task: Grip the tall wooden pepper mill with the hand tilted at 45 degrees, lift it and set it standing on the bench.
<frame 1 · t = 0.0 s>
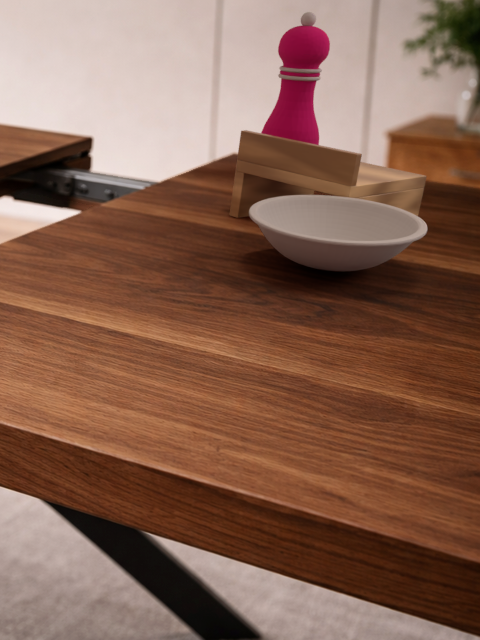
pepper mill: (283, 177, 123), on the table
dish: (326, 274, 84), on the table
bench: (319, 224, 99), on the table
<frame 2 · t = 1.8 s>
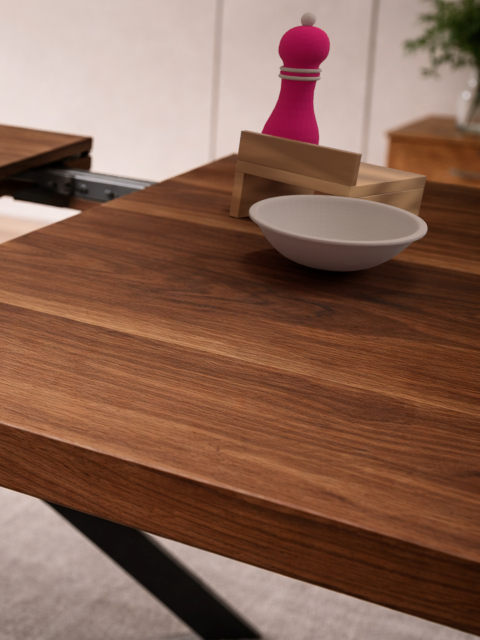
nothing on the table moved.
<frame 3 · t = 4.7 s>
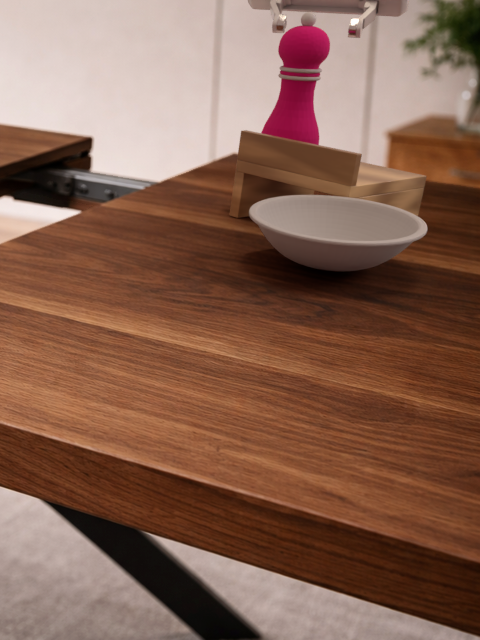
hand: (315, 32, 123), 17 cm above the table, tool tilted 45°, fingers open, 8 cm apart
nothing on the table moved.
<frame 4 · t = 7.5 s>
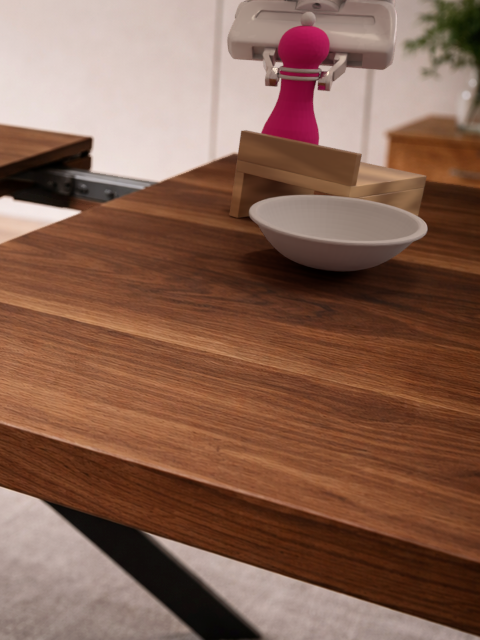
hand: (297, 85, 118), 11 cm above the table, tool tilted 45°, fingers closed on pepper mill, 5 cm apart
pepper mill: (283, 177, 123), on the table, touching gripper
everything else where it was.
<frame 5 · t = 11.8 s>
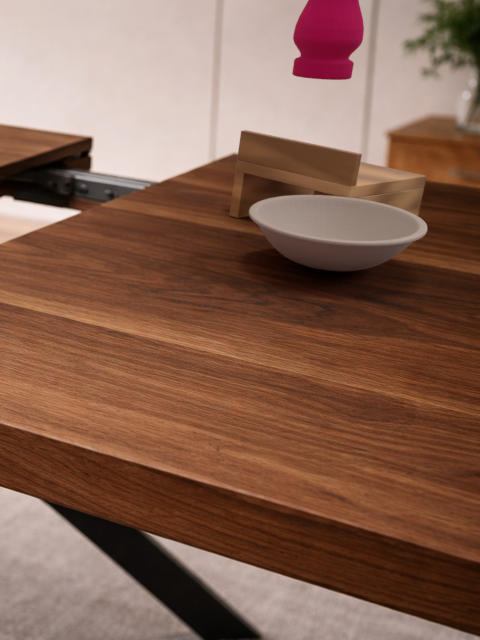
pepper mill: (321, 78, 106), point 14 cm above the table, touching gripper
everything else where it was.
when the fingers open (17 cm above the table, at t = 16.1 s): pepper mill stays where it is, resting on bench.
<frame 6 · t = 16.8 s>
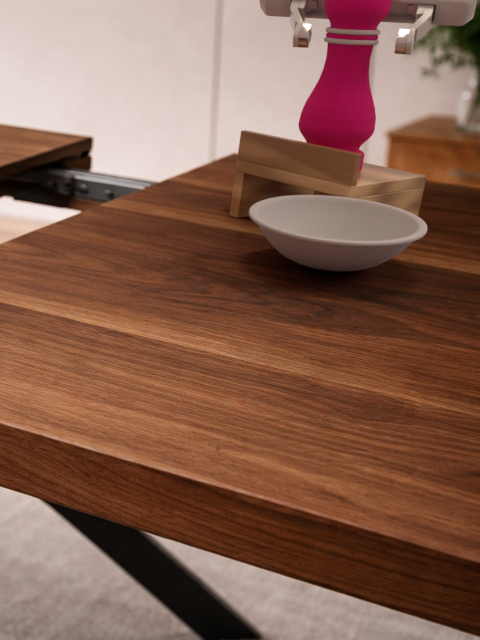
hand: (350, 46, 92), 18 cm above the table, tool tilted 45°, fingers open, 8 cm apart
pepper mill: (328, 169, 97), point 6 cm above the table, touching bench
everything else where it was.
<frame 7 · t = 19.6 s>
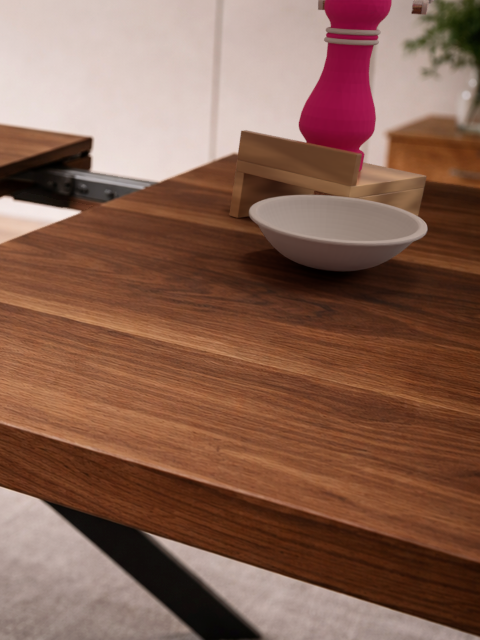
hand: (371, 8, 101), 21 cm above the table, tool tilted 45°, fingers open, 8 cm apart
nothing on the table moved.
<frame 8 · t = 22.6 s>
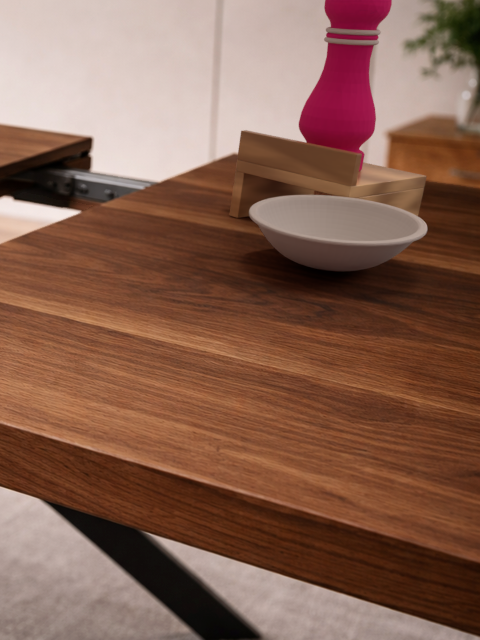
nothing on the table moved.
at the end: pepper mill inside the target area on the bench (0.1 cm from its centre), point 5.8 cm above the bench's base; pepper mill tilted 0°; the gripper is holding nothing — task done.
